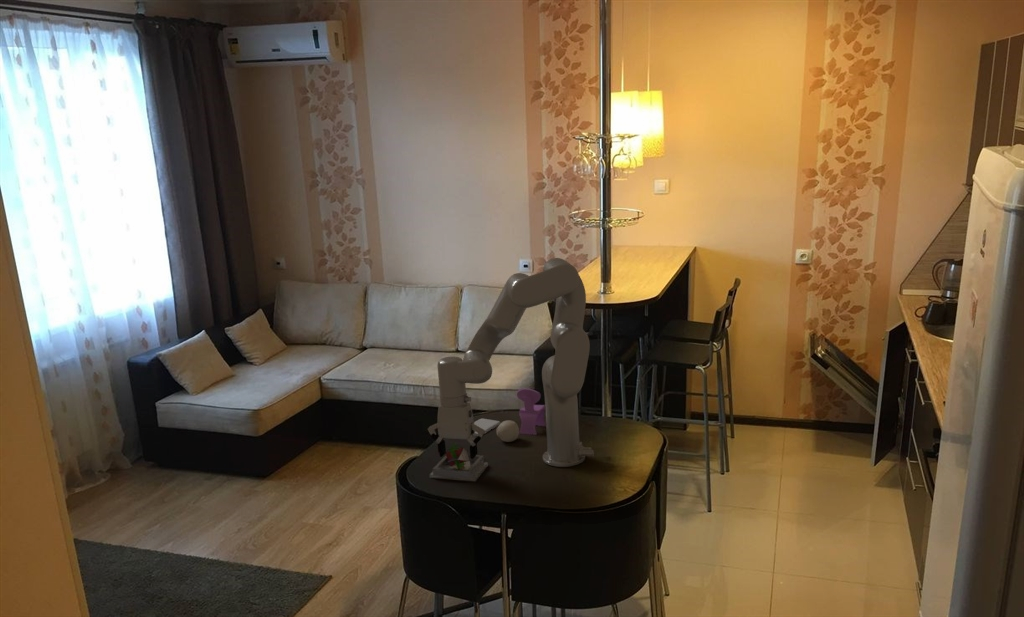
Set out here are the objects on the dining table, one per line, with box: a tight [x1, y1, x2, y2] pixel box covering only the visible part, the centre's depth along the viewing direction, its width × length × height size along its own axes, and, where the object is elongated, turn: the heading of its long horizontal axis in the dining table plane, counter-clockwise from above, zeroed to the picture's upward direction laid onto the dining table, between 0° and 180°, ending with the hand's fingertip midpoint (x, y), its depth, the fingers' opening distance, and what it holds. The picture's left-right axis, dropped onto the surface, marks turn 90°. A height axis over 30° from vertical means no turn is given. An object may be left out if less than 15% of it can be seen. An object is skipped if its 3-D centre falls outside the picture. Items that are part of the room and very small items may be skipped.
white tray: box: [429, 454, 489, 482], centre depth 228 cm, size 14×12×3 cm
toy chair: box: [516, 387, 546, 436], centre depth 257 cm, size 8×9×15 cm
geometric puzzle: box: [444, 443, 470, 469], centre depth 228 cm, size 7×7×8 cm
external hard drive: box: [473, 418, 501, 437], centre depth 262 cm, size 2×8×12 cm
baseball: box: [496, 419, 520, 443], centre depth 249 cm, size 7×7×7 cm
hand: (458, 456), depth 228 cm, fingers open, 9 cm apart
